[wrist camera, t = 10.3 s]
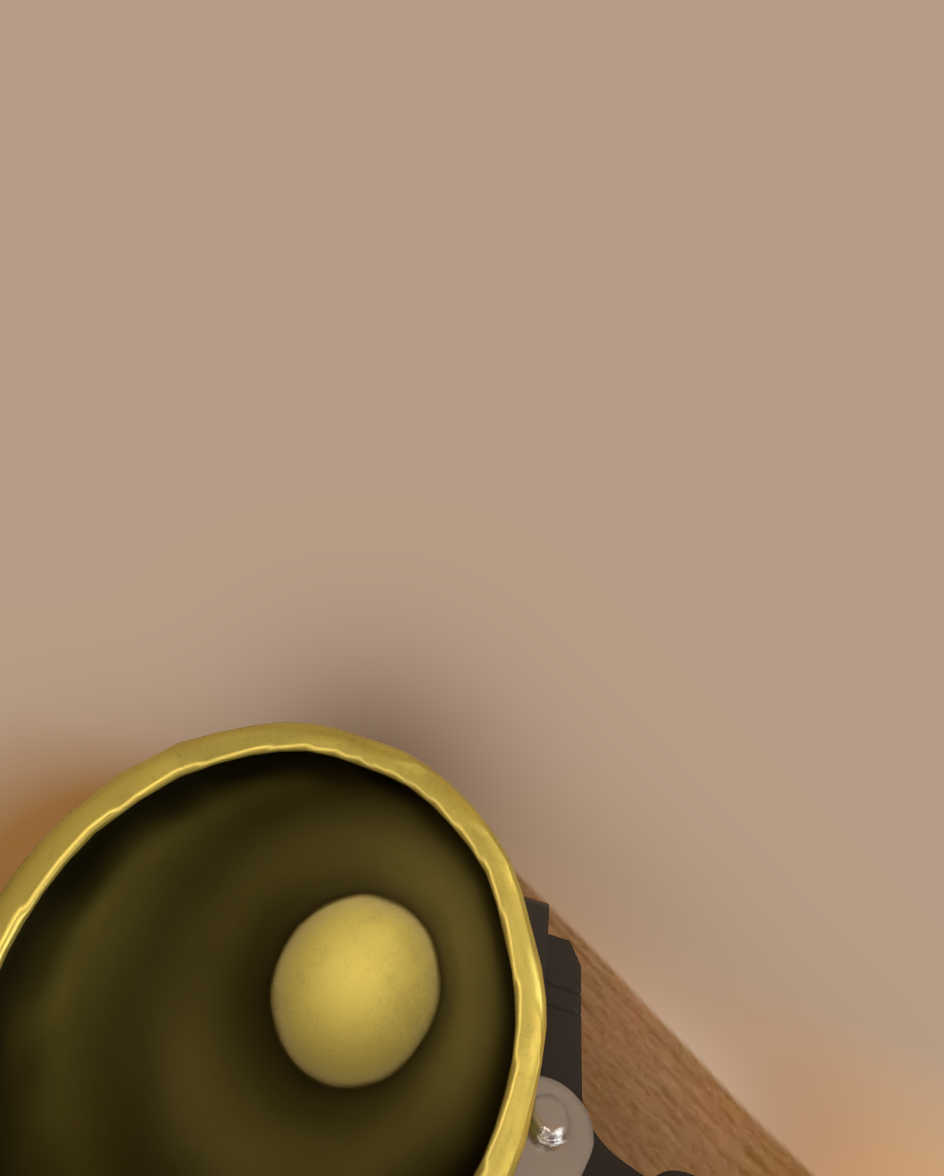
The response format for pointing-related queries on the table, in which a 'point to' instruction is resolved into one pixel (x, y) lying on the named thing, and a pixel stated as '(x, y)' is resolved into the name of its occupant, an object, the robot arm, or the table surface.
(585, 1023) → the table surface
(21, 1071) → the vase
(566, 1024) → the robot arm
